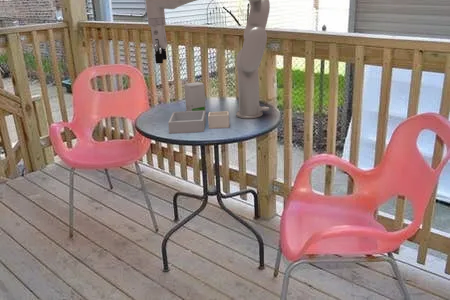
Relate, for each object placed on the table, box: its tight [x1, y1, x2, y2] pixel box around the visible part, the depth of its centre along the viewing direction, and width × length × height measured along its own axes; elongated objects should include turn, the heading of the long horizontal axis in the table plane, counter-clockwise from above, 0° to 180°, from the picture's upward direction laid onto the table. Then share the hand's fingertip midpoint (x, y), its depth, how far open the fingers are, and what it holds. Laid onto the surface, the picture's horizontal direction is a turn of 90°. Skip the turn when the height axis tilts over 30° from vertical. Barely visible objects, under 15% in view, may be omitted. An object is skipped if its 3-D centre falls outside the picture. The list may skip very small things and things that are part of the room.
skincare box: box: [183, 81, 207, 113], centre depth 208 cm, size 8×7×16 cm
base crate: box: [167, 110, 207, 134], centre depth 193 cm, size 15×16×5 cm
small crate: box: [207, 110, 230, 130], centre depth 191 cm, size 9×6×6 cm, turn 89°
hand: (161, 61), depth 194 cm, fingers open, 9 cm apart
